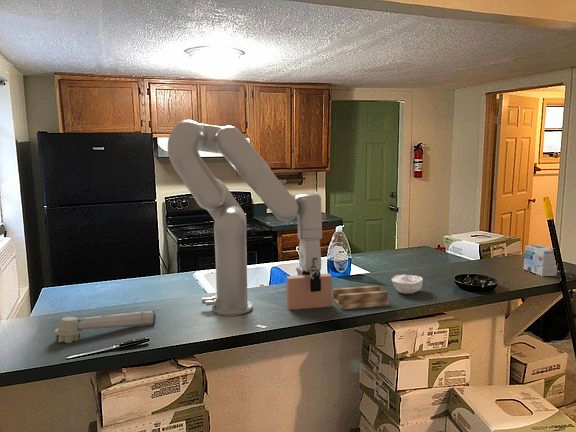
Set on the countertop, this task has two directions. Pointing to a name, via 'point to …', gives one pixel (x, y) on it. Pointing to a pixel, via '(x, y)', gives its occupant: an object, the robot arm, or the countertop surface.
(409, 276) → the white bowl
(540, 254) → the light bulb box
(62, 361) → the countertop surface
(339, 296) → the guide track
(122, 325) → the beige mallet
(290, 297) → the door panel
